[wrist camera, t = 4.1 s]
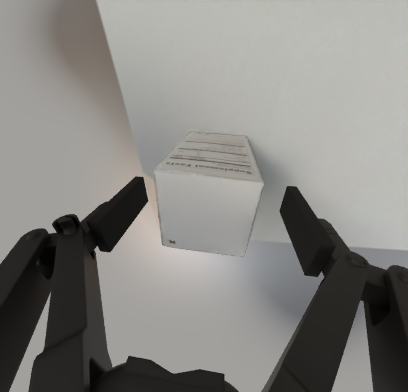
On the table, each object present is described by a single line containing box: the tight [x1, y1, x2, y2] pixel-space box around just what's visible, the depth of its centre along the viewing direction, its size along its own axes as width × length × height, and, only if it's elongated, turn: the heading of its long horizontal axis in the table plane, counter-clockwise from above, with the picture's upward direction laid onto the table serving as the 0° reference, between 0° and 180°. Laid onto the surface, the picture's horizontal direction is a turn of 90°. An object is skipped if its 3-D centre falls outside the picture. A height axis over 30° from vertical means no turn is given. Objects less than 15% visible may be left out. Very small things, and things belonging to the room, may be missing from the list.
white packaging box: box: [154, 132, 264, 257], centre depth 18 cm, size 7×7×13 cm
